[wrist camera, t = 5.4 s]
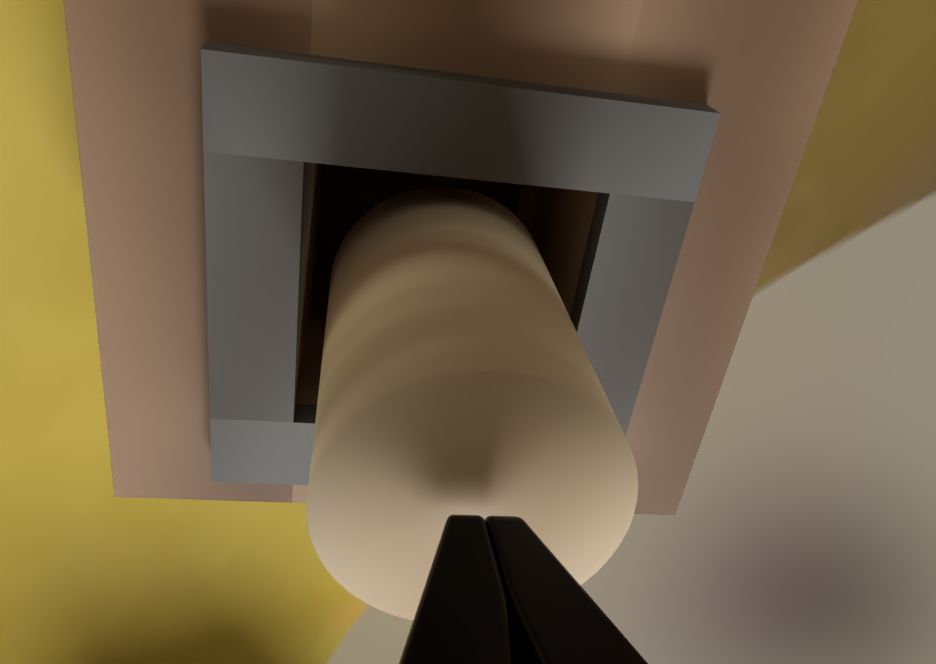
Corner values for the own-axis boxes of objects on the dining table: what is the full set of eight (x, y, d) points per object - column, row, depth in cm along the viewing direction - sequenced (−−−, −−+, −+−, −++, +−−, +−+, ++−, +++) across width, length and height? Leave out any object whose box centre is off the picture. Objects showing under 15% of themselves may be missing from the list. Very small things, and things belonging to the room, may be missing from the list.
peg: (324, 372, 15) (299, 623, 10) (336, 175, 13) (313, 358, 8) (523, 384, 16) (597, 625, 11) (562, 198, 14) (676, 381, 9)
